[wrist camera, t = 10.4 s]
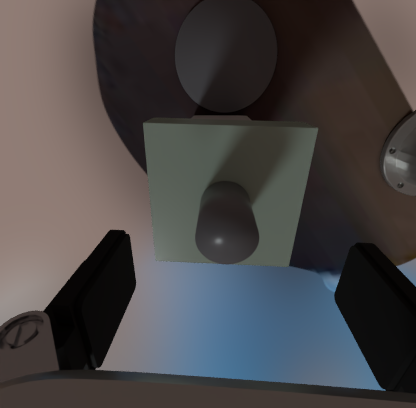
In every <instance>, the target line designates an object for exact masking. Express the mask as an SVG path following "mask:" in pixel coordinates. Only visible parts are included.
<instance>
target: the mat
mask: <svg viewBox="0 0 416 408" xmlns="http://www.w3.org/2000/svg"><path fill="white" fill-rule="evenodd" d="M276 61H277V41H276V35H275V32H274V28H273V26H272V24H271V21H270V20H269V18H268V16H267V15H266V13H265V12H264V11H263V10H262V8H261V7H260V6H258V5H257V4H256V3H255V2H253V1H252V0H204V1H202V2H201V3H199V4H198V5H197V6H196V7H195V8H194V9H193V10H192V11H191V12H190V13H189V14H188V16H187V17H186V19H185V20H184V22H183V24H182V26H181V28H180V31H179V33H178V37H177V41H176V47H175V63H176V69H177V73H178V76H179V79H180V82H181V84H182V86H183V88H184V89H185V91H186V92H187V94H188V95H189V96H190V97H191V98H192V99H193V100H194V101H195V102H196V103H198V104H199V105H200V106H202V107H204V108H206V109H208V110H211V111H215V112H222V113H227V112H234V111H238V110H241V109H243V108H245V107H247V106H249V105H250V104H252V103H253V102H254V101H256V100H257V99H258V98H259V97H260V96H261V95H262V93H263V92H264V91H265V89H266V88H267V86H268V85H269V83H270V81H271V79H272V76H273V74H274V70H275V67H276Z"/></svg>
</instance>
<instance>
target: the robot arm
mask: <svg viewBox="0 0 416 408" xmlns="http://www.w3.org/2000/svg"><path fill="white" fill-rule="evenodd" d="M380 169H381V173H382V176H383V178H384V180H385V181H386V182H387V183H388V184H389V186H390V187H392V188H394V189H395V190H397V191H399V192H401V193H403V194H407V195H411V196H416V110H415V111H414V112H412V113H411V114H409V115H408V116H406V117H405V118H404V119H403V120H402V121H401V122H400V123H399V124H398V125H397V126H396V127H395V128H394V130H393V131H392V132H391V133H390V135H389V137H388V138H387V140H386V142H385V144H384V147H383V149H382V153H381V158H380ZM133 264H134V263H133V256H132V250H131V242H130V236H129V234H126V232H125V231H124V230H110V231H109V232H108V233H107V234H106V235H105V237H104V238H103V239H102V241H101V242H100V243H99V244H98V245H97V247H96V248H95V249H94V251H93V252H92V253H91V254H90V256H89V257H88V258H87V259H86V260H85V261H84V262H83V263H82V264H81V265H80V267H79V268H78V269H77V270H76V271H75V273H74V274H73V275H72V276H71V278H70V279H69V280H68V281H67V283H66V284H65V285H64V286H63V287H62V289H61V290H60V291H59V292H58V294H57V295H56V296H55V297H54V299H53V300H52V301H51V302H50V304H49V305H48V306H47V307H46V309H45V310H44V311H29V312H26V313H22V314H19V315H17V316H15V317H13V318H11V319H10V320H8V321H7V322H5V323H4V324H3V325H2V326H0V408H416V287H415V286H414V285H413V283H411V282H410V281H409V279H408V278H407V277H406V276H405V275H404V274H403V273H402V272H401V271H400V270H399V269H398V268H397V267H396V266H395V265H394V264H393V263H392V262H391V261H390V260H389V259H388V258H387V257H386V256H385V255H384V254H383V253H382V252H381V251H380V250H379V248H378V247H377V246H376V245H374V244H372V243H356V244H355V245H354V246H352V247H351V248H350V250H349V253H348V256H347V259H346V262H345V265H344V268H343V271H342V273H341V276H340V279H339V282H338V285H337V288H336V291H335V295H334V296H335V302H336V304H337V306H338V308H339V310H340V312H341V314H342V315H343V317H344V319H345V321H346V323H347V324H348V327H349V329H350V330H351V332H352V334H353V336H354V338H355V340H356V342H357V344H358V346H359V348H360V349H361V351H362V353H363V355H364V357H365V359H366V361H367V363H368V365H369V367H370V369H371V370H372V372H373V374H374V376H375V378H376V380H377V382H378V383H379V385H380V386H381V388H383V389H385V390H386V391H381V390H369V389H356V388H344V387H331V386H319V385H307V384H294V383H281V382H267V381H253V380H241V379H227V378H214V377H199V376H185V375H171V374H156V373H142V372H124V371H123V372H121V371H104V370H95V369H96V368H99V367H101V365H102V363H103V361H104V359H105V357H106V354H107V352H108V350H109V348H110V345H111V343H112V341H113V338H114V336H115V334H116V331H117V329H118V327H119V325H120V322H121V320H122V318H123V315H124V313H125V310H126V309H127V306H128V304H129V302H130V300H131V297H132V295H133V293H134V290H135V287H136V278H135V271H134V265H133Z"/></svg>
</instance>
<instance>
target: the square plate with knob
mask: <svg viewBox="0 0 416 408" xmlns="http://www.w3.org/2000/svg"><path fill="white" fill-rule="evenodd" d="M143 127H144V139H145V150H146V161H147V172H148V183H149V194H150V205H151V216H152V227H153V238H154V247H155V248H154V249H155V260H156V261H171V262H172V261H173V262H193V263H217V264H238V265H260V266H282V267H288V266H289V262H290V257H291V252H292V248H293V243H294V238H295V234H296V229H297V225H298V220H299V215H300V211H301V206H302V201H303V197H304V192H305V187H306V183H307V178H308V173H309V169H310V164H311V160H312V155H313V150H314V146H315V141H316V136H317V132H318V128H317V127H314V126H312V125H310V124H307V123H305V122H286V121H251V120H217V119H183V118H152V119H150V120H148V121H146V122H144V123H143Z"/></svg>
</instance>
